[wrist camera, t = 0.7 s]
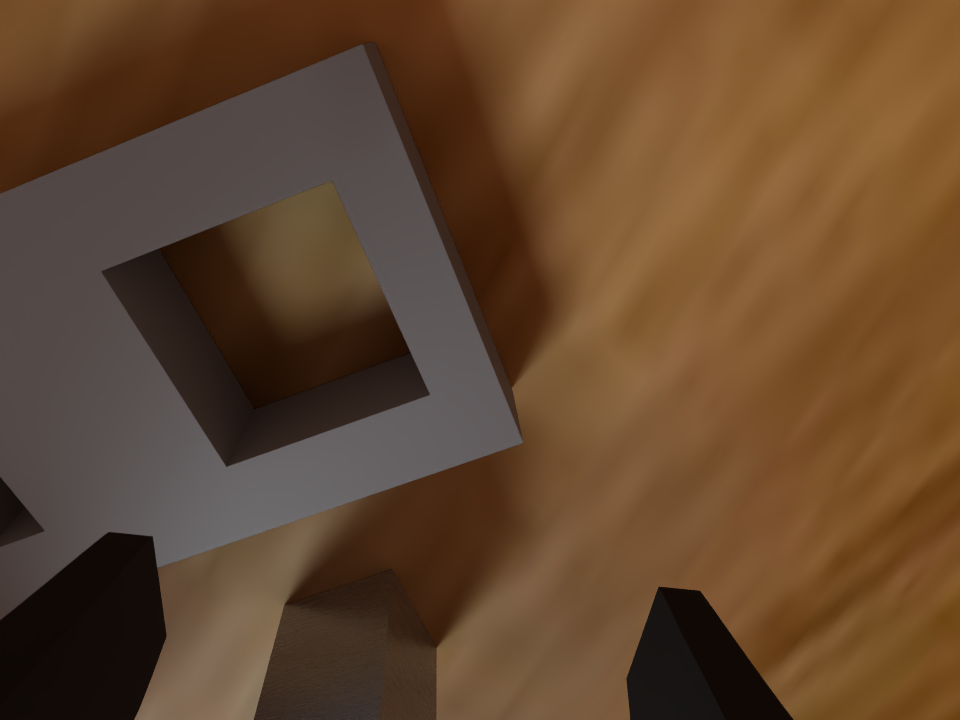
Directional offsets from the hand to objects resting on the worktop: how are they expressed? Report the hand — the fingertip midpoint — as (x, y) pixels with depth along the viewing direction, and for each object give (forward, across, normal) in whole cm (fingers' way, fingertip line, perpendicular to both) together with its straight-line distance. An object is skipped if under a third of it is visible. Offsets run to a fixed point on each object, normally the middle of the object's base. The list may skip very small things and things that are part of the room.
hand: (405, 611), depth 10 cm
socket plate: (+10, +8, +2) cm, 13 cm away
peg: (+10, +2, +12) cm, 16 cm away
